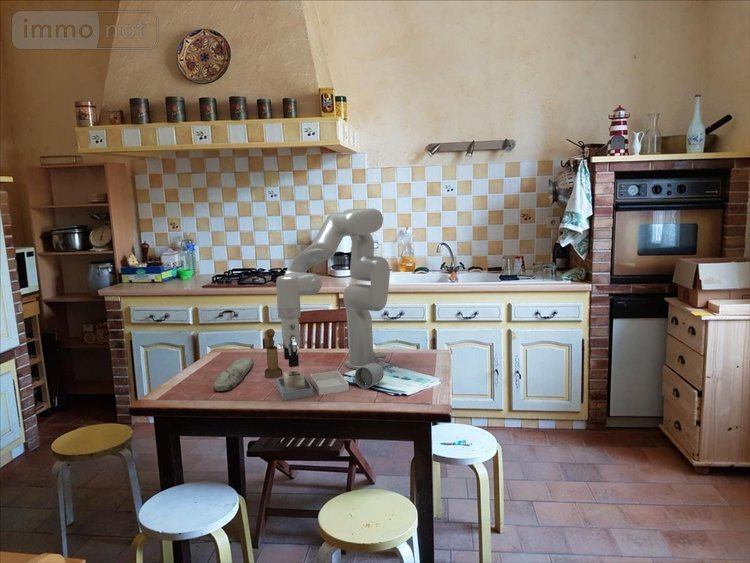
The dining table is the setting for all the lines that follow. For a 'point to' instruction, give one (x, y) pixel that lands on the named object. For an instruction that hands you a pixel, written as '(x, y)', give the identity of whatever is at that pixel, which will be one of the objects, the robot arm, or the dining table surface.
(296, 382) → the letter cube
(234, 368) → the long grey stone
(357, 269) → the robot arm
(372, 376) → the ceramic mug
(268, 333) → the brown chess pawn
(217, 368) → the dining table surface
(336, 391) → the tray
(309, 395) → the tray
